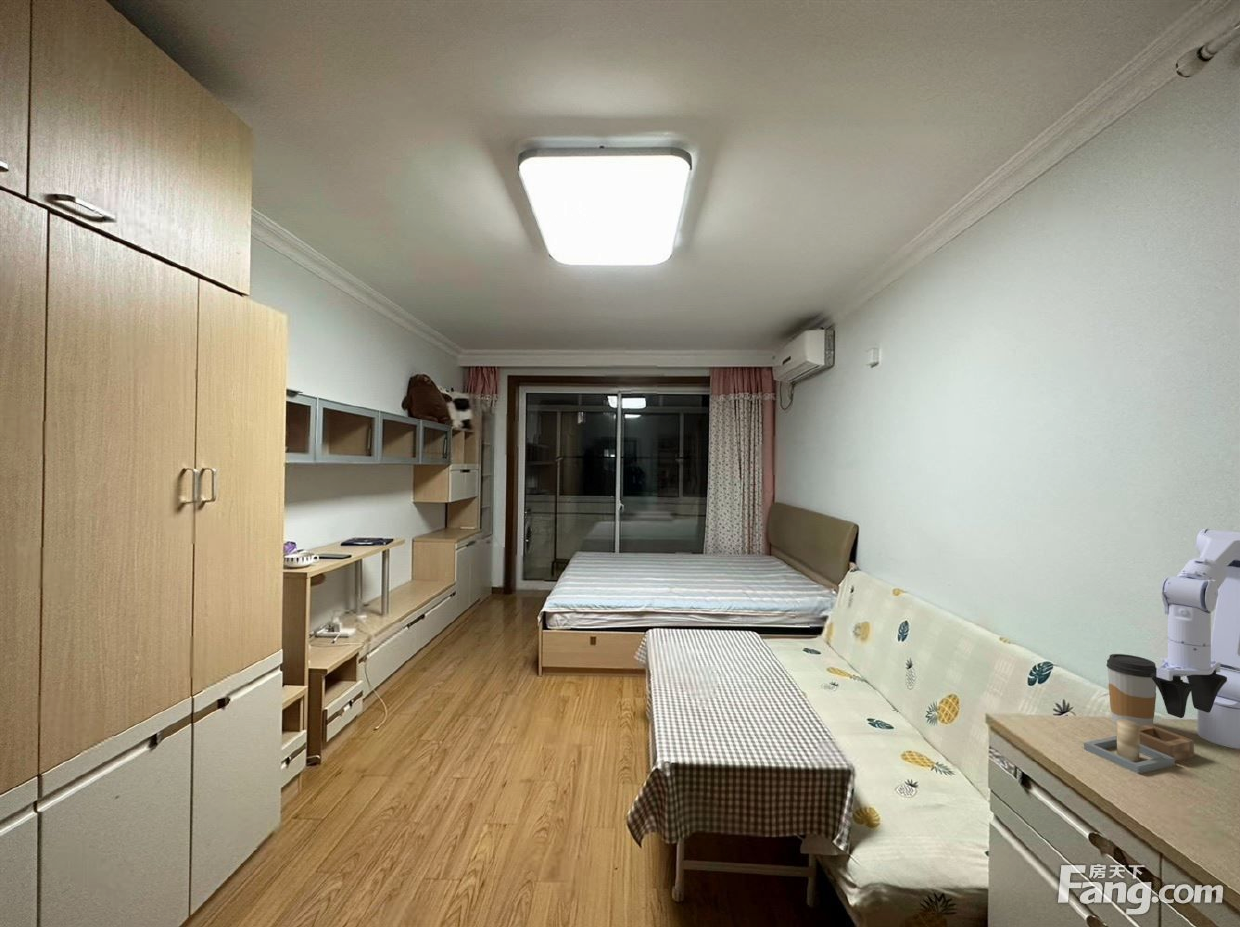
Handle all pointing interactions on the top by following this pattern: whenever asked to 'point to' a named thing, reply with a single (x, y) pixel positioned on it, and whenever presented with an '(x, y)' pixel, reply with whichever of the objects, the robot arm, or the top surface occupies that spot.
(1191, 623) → the robot arm
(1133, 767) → the tray
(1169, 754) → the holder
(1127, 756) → the dowel
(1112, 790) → the top surface
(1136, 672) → the coffee cup
